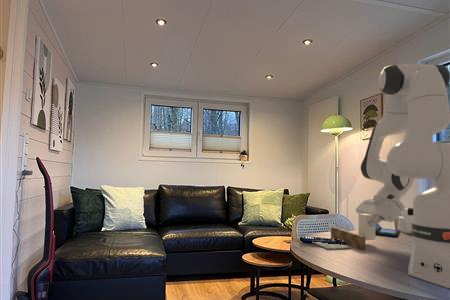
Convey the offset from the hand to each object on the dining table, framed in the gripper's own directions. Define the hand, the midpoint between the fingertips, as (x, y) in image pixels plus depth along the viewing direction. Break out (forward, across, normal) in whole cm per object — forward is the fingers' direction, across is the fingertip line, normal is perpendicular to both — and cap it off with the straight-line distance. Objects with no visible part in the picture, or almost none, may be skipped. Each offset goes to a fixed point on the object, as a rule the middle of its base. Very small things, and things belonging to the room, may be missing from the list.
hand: (365, 224), depth 129 cm
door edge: (+11, -2, +1) cm, 11 cm away
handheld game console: (-12, -19, +23) cm, 32 cm away
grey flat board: (+17, 0, -6) cm, 18 cm away
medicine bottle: (-23, -20, +34) cm, 46 cm away
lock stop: (+4, 0, +5) cm, 6 cm away
